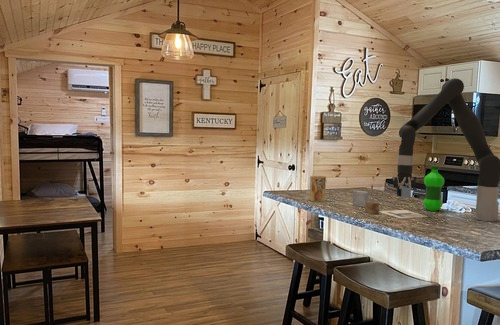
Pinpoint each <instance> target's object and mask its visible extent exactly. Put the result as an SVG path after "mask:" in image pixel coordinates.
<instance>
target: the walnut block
mask: <svg viewBox="0 0 500 325" xmlns="http://www.w3.org/2000/svg"><path fill="white" fill-rule="evenodd" d="M379 211H380V202H376V201H368V202H366V203H365V207H364V213H366V214H369V215H378V214H379V213H380V212H379Z"/></svg>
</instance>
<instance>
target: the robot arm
mask: <svg viewBox="0 0 500 325" xmlns="http://www.w3.org/2000/svg"><path fill="white" fill-rule="evenodd" d="M464 90H465V84H464V82H463V80H461V79H460V78H455V77H454V78H450V79H449V80H446V81H445V82H444V83H443V84H442V86H441V90H440V91H439V93H437V95H436V96H435V97H434V98H433V99H432V100H431V101H429V102H427V104H426V105H424V106H423V107H422V108H421V109H420V110H419V111H418V112H416V113H415V114H414V116H413V117H412V118H410V119H409V120H408V121H407V122H406V123H404V124H403V125H402V126H401V127H400V128H399V131H398V136H399V138H400V139H401V140H400V145H399V147H398V157H397V158H398V159H397V168H396V169H397V171H396V172H397V175H396V176H392V177H391V178H392V179H391V180H392V185H393V188H395V189H396V194H397V196H401V188H402V187H404V185H405V187H408V188H411V189H414V188H415V187H416V182H417V176H414V175H413V170H414V169H413V167H414V145H415V140H416V132H417V131H418V130H419V129H421V128H423V127H424V126H426V125H427V124H428V123H429V121H430V120H432V119H433V118H434V116H436V115H437V114H438V112H440V111H441V109H442V108H443V107H444V106H446V105H447V104H448V105H449V108H451V111H452V114H453V116H454V117H455V120H456V122H457V124H458V126H459V128H460V131H461V133H462V134H463V136H464V138H465V140H466V142H467V143H468V145H469V146H470V148H471V149H472V151H473V154H474V157H475V160H476V163H477V166H478V168H479V170H478V172H479V174H478V180H477V187H476V188H477V189H476V204H475V205H476V206H475V218H474V219H475V220H478V221H482V222H497V221H498V219H499V218H498V217H499V207H500V206H499V201H498V199H499V185H500V158H499V157H498V156H497V155H495V154H494V153H493V152H492V150H491V148H490V145H489V144H488V141H487V138H486V135H485V130H484V128H483V125H482V124H481V122H480V119H479V118H478V116H477V115H476V114H475V112H474V111H473V110H472V109H471V108H470V106H468V104H467V103H466V101H465V99H464V96H463V94H462V93H463V92H464ZM397 196H396V197H397Z"/></svg>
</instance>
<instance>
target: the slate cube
mask: <svg viewBox="0 0 500 325" xmlns="http://www.w3.org/2000/svg"><path fill="white" fill-rule="evenodd" d="M411 194H412V188H408V187H406V186H402V188H401V196H397V193H396V195H395V196H396V197H398V198H401V199H402V198H403V199H405V198H406V199H409V198H411V196H412V195H411Z"/></svg>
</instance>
